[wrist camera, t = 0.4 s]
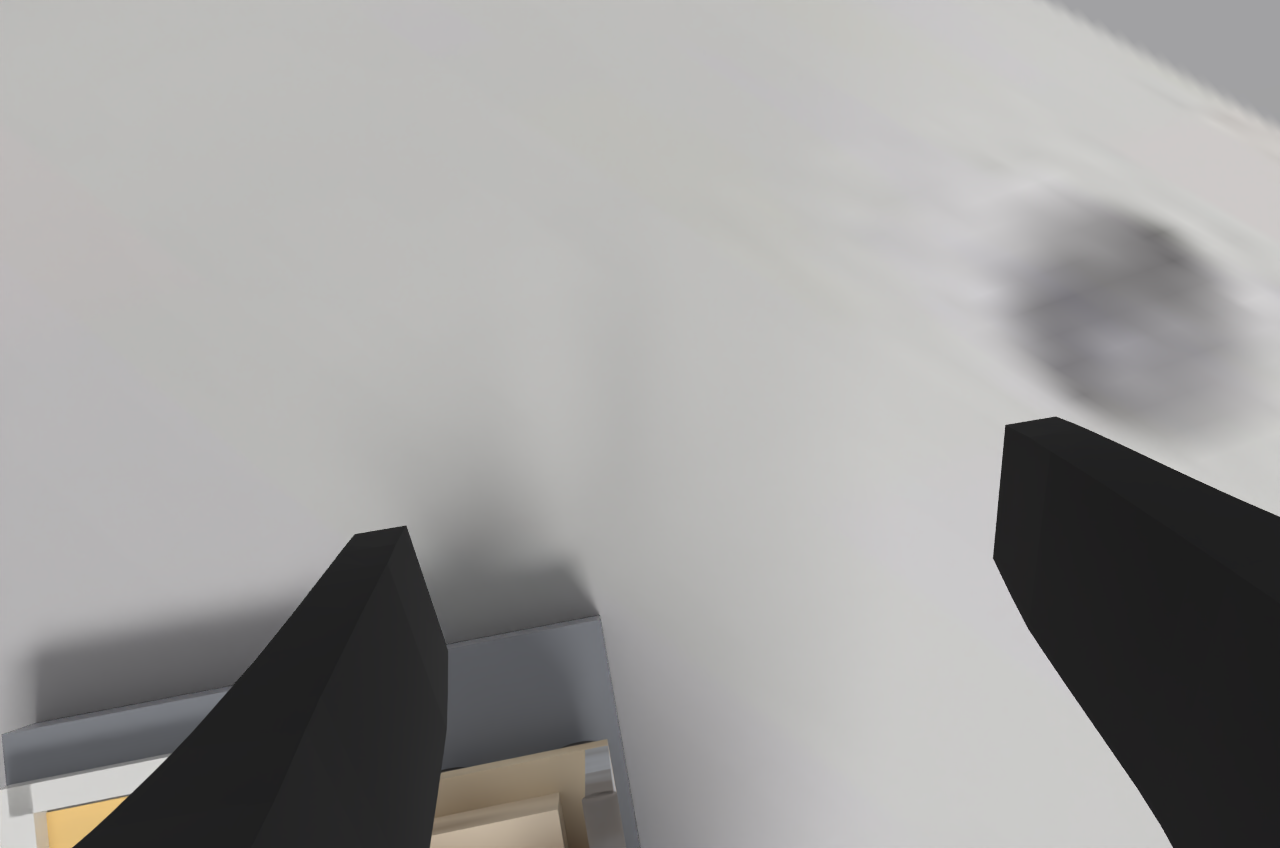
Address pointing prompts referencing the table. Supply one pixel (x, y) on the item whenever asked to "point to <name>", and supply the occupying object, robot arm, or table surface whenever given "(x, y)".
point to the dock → (151, 731)
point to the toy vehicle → (532, 802)
